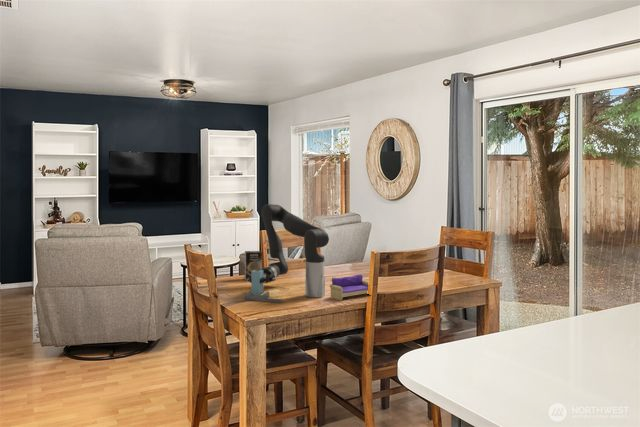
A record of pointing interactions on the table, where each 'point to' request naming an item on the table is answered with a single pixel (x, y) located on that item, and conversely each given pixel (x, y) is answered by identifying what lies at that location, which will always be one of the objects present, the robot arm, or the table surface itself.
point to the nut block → (256, 282)
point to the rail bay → (261, 297)
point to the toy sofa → (348, 286)
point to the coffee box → (252, 262)
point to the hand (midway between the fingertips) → (255, 280)
